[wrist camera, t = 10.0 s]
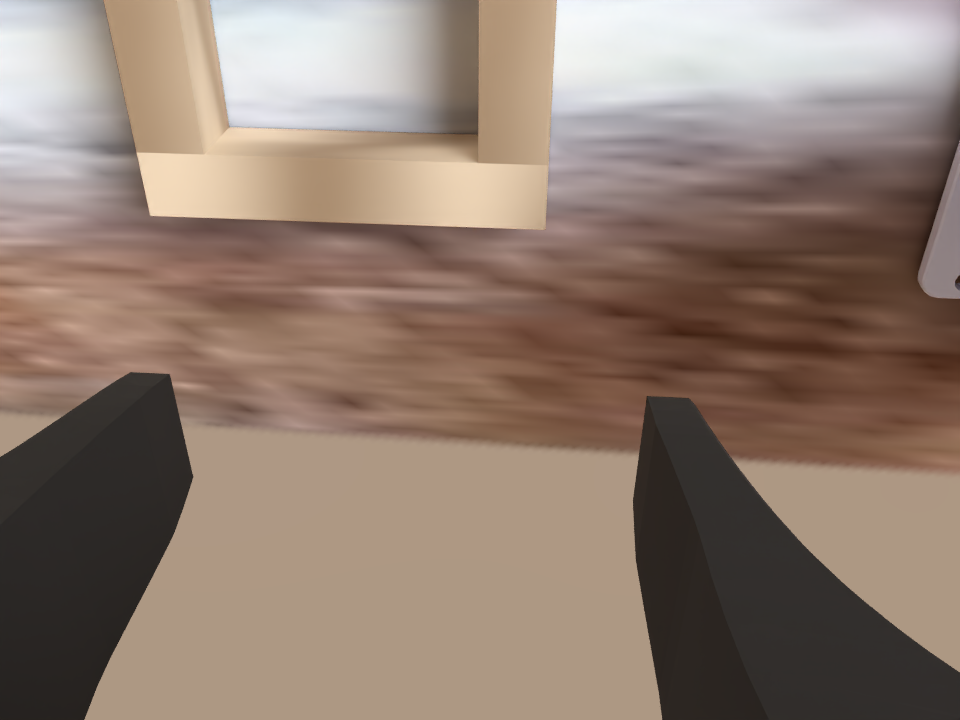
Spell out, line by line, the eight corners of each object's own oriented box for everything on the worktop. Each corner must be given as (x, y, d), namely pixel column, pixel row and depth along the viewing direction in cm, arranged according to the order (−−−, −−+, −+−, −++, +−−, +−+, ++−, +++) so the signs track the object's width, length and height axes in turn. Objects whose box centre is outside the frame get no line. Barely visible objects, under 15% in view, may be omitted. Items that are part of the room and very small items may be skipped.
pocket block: (568, -262, 16) (569, -267, 15) (546, 197, 21) (545, 229, 20) (91, -265, 17) (45, -269, 15) (178, 185, 22) (150, 215, 20)
